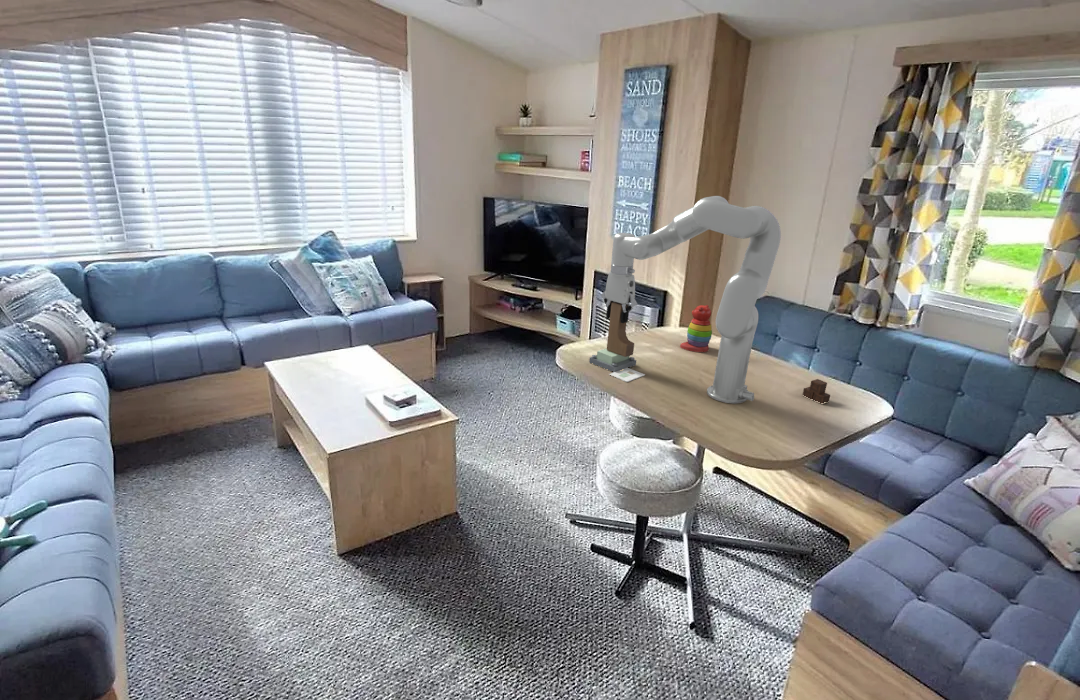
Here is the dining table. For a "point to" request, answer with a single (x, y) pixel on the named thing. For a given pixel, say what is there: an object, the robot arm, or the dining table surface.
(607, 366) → the baseplate
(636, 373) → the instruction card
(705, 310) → the stacking bear
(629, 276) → the robot arm
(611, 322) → the wooden block
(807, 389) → the stack of crates
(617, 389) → the dining table surface
